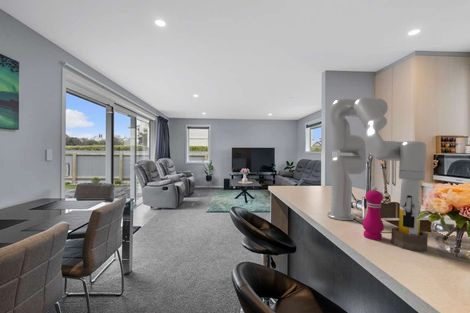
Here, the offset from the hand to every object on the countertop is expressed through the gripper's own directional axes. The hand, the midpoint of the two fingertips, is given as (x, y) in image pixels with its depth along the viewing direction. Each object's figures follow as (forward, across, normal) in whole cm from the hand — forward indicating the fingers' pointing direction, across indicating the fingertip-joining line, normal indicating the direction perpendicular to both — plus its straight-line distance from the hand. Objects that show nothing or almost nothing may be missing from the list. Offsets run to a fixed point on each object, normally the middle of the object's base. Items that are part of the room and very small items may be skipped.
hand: (409, 224), depth 87 cm
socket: (+8, 0, 0) cm, 8 cm away
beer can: (+6, 0, 0) cm, 6 cm away
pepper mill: (+8, 0, -12) cm, 14 cm away
